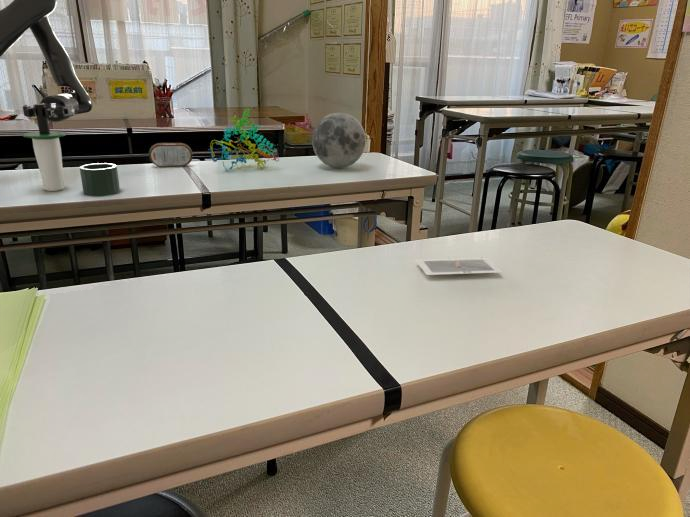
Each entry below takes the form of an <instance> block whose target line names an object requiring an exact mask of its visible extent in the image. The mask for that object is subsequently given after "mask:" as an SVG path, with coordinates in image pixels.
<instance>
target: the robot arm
mask: <svg viewBox="0 0 690 517" xmlns="http://www.w3.org/2000/svg"><path fill="white" fill-rule="evenodd" d="M57 2H58V1H57V0H13V1H11V2H10V3H9V4H8V5H6V6H5V7H3V8H2V9H0V58H1V57H2V56H3V55H4V54H5V53H7V51H9V50H10V49H11V47H13V46H14V44H15V43H16V42H17V41H19V39H20V38H22V36H23V35H25V33H26V32H27V31H28V30H29V29H30V31H31V33H32V35H33V36H34V39H35V41H36V42H37V45H38V47H39V49H40V51H41V54H42V56H43V57H44V61H45V62H46V65H47V68H48V71H49V73H50V76H51V78H52V81H53V83H54V84H55V85H56V86H57V87H67V88H70V89H71V90H72V91H73V92H72V91H71V92H67V93H65V92H64V93H61V94H58V93H57V94H53V95H46V96H45V97H43V98H42V99H41V100H40V101H39V104H45V107H46V109H45V114H46V117H47V119H48V122H53V123H59V122H62V121H65V120H68V119H69V118H71V117H74V116H75V115H81V114H87V113H90V112H91V111H92V109H93V101H92V98H91V97H90V95H89V93H88V92H87V91H86V89H85V88H84V87H83V85H82V83H81V82H80V80H79V79H78V77H77V74H76V72H75V69H74V66H73V63H72V60H71V59H70V56H69V55H68V53H67V51H66V50H65V48H64V46H63V44H62V43H61V42H60V40H59V39H58V37H57V36H56V34H55V32H54V31H53V28H52V26H51V23H50V21H49V17H48V16H49V15H50V14H52V13H53V12H54V11H55V9H56V7H57ZM22 112H23V116H24V117H27V118H32V117H35V118H37V117H36V111H35V106H34V104H33V105H32V106H31V105H27V104H24V105H23V106H22Z"/></svg>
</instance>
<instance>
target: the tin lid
mask: <svg viewBox="0 0 690 517" xmlns="http://www.w3.org/2000/svg"><path fill="white" fill-rule="evenodd" d="M33 105H34V106H35V111H36V117H35V118H36V121H37V126H38V127H37V128H38V131H30V132H26V133H23V136H22V137H24V138H26V139H28V138H29V139H31V140H32V139H55V138H59V139H60V138H61V137H65V136H67V133H66V132H65V131H56V130H50V125H49V120H48V119H47V117H46V114H45V109H46V107H45V104H40V103H34V104H33Z"/></svg>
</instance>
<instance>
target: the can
mask: <svg viewBox="0 0 690 517" xmlns="http://www.w3.org/2000/svg"><path fill="white" fill-rule="evenodd" d="M78 169H79V174H80V181H81V187H82V192H83V195H86V196H90V197H105V196H112V195H116V194H118V193H120V191H121V187H120V180H119V173H118V166H117V165H116V164H115V163H107V162H104V163H102V162H101V163H99V162H97V163H88V164H84V165H80V166H79V168H78Z"/></svg>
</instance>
